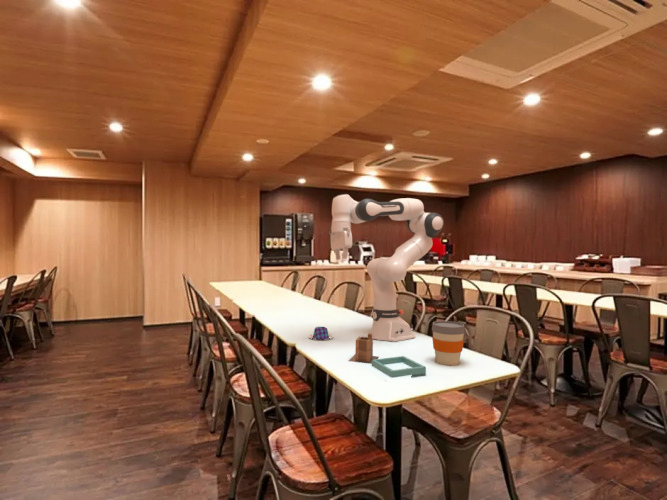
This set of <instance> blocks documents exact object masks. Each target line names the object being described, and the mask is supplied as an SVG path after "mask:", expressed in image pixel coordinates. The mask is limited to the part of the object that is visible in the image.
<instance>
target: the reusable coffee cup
mask: <svg viewBox="0 0 667 500" xmlns="http://www.w3.org/2000/svg"><path fill="white" fill-rule="evenodd" d="M431 331H432V346H433V350H434V356H435V362H436V363H437V364H440V365H443V366H444V365H445V366H457V365H459V364H460V362H461V361H460V360H461V355H462V352H463V349H464V342H465V340H464V339H465V338H464V337H465V336H464V335H465V332H466V331H465V324H463V323H461V322H456V321H451V320H450V321H449V320H437V321H433V322H432V327H431Z"/></svg>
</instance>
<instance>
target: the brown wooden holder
mask: <svg viewBox="0 0 667 500" xmlns="http://www.w3.org/2000/svg"><path fill="white" fill-rule="evenodd" d="M373 350H374V339H373V338H372V334H371V332H370V333H368V334H367V336H362V335H361V336H360V335H359V336H358V337H356V339H355V351H354V353H355V354H354V355H355V360H359V361H368V362H370V360H371V359H372V358H373V356H374V354H373V353H374V351H373Z"/></svg>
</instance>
